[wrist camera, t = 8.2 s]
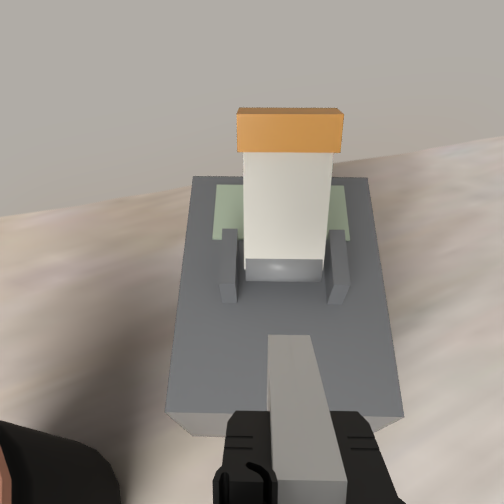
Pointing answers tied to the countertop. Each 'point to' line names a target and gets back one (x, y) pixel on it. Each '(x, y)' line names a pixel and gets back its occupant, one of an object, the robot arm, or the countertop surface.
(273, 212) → the lever
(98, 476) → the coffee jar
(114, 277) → the countertop surface
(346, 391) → the box
